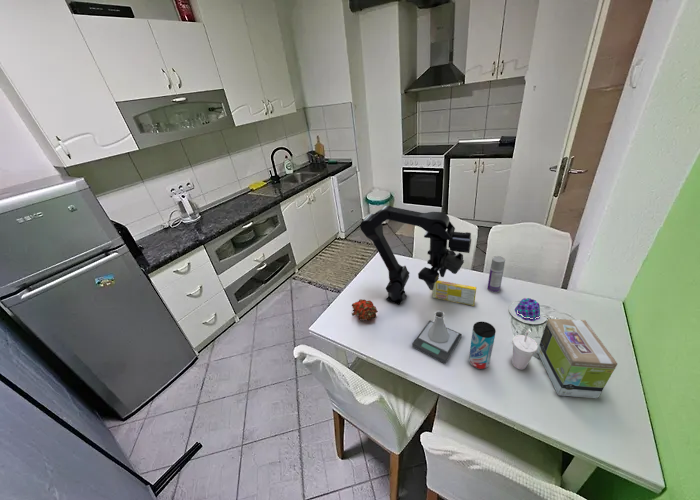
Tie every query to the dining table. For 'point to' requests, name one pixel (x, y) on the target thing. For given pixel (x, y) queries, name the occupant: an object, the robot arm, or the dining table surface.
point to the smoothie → (523, 350)
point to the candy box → (454, 292)
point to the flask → (438, 329)
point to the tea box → (575, 358)
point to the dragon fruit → (364, 310)
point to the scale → (436, 344)
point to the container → (496, 274)
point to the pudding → (527, 311)
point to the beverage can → (481, 345)
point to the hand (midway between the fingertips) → (436, 283)
